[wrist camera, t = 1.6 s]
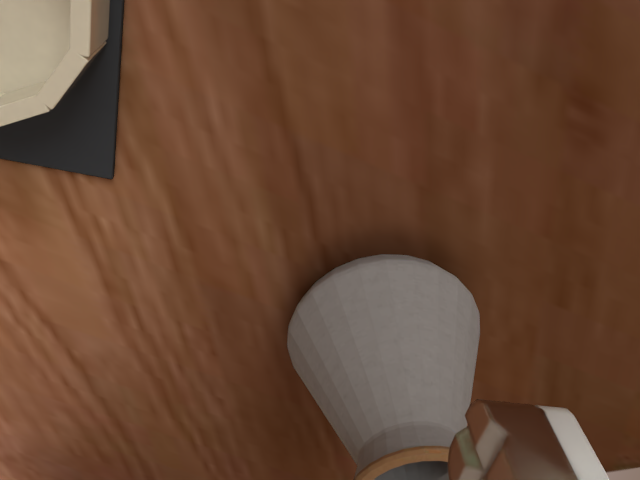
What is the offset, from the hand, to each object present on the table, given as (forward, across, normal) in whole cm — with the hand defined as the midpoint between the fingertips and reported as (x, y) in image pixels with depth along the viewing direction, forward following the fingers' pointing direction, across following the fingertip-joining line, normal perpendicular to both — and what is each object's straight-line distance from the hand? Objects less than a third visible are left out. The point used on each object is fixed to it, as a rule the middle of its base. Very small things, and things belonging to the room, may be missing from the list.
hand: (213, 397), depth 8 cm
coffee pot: (+22, -12, +18) cm, 31 cm away
